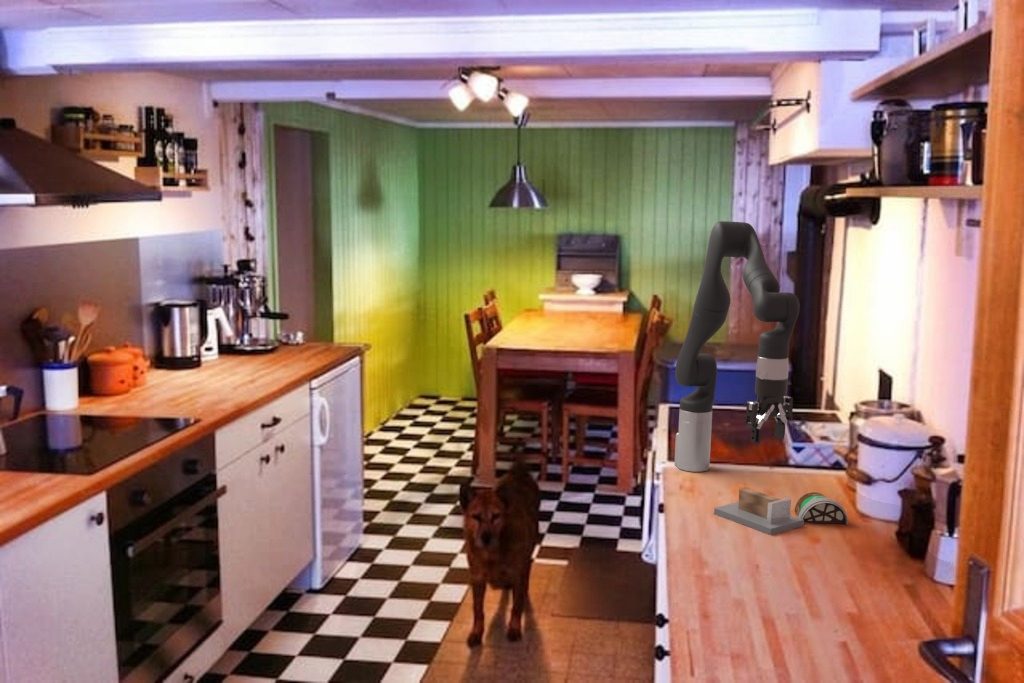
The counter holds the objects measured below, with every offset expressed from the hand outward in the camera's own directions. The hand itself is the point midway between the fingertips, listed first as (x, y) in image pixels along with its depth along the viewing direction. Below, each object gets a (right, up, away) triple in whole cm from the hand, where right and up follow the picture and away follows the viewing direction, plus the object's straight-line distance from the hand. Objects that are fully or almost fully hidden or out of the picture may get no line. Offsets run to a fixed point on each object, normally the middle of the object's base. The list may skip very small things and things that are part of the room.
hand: (767, 440), depth 249 cm
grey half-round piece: (+14, -16, +10) cm, 24 cm away
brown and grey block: (-1, -18, +3) cm, 19 cm away
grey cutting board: (-1, -20, +4) cm, 20 cm away
